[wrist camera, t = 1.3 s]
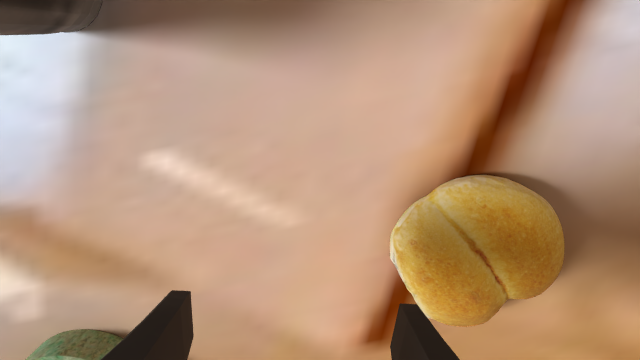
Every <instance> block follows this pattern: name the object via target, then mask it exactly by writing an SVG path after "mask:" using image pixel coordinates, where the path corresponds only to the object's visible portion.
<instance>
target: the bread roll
mask: <svg viewBox="0 0 640 360" xmlns="http://www.w3.org/2000/svg"><path fill="white" fill-rule="evenodd" d="M390 259H391V260H392V262H393V263H394V265H395V267H396V268H397V270H398V272H399V274H400V276H401V278H402V280H403V282H404V283H405V285H406V287H407V290H409V291H410V292H411V294H412V295H413V297H414V299H415V301H416V303H417V304H418V305H419V307H420V309H421V310H422V311H423V313H424V314H425V315H426V317H427V318H432V319H434V320H436V321H438V322H441V323H444V324H446V325H451V326H463V327H467V326H475V325H479V324H483V323H485V322H487V321H488V320H489V319H490V318H491V317H492V316H494V315H495V314H496V313H497V312H498V311H499V309H500V308H501V306H502V305H503V304H504V303H505V302H506V300H507V299H528V298H532V297H535V296H537V295H539V294H541V293H543V292H544V291H545V290H546V289H547V288H548V287H549V286H550V285H551V284H552V283H553V282H554V281H555V279H556V278H557V276H558V274H559V272H560V271H561V268H562V264H563V259H564V236H563V230H562V227H561V224H560V221H559V218H558V216H557V215H556V213H555V211H554V209H553V208H552V207H551V205H550V204H549V203H548V202H547V201H546V200H545V199H544V198H543V197H541V196H540V195H539V194H537V193H535V192H534V191H532V190H530V189H528V188H526V187H525V186H523V185H521V184H519V183H517V182H514V181H511V180H509V179H507V178H502V177H497V176H489V175H472V176H466V177H461V178H457V179H454V180H451V181H448V182H446V183H443V184H441V185H440V186H439V187H437V188H436V189H434V190H433V191H432V192H431V193H430V194H429V195H427V196H425V197H423V198H421V199H419V200H417V201H416V202H415V203H413V204H412V205H411V206H410V207H409V208H408V209H407V210H406V211H405V212H404V213H403V215H402V216H401V217H400V218H399V220H398V222H397V224H396V225H395V227H394V229H393V230H392V233H391V236H390Z"/></svg>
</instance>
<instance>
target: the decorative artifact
mask: <svg viewBox="0 0 640 360" xmlns="http://www.w3.org/2000/svg"><path fill="white" fill-rule="evenodd" d="M122 340H123V338H121V337H119V336H116V335H113V334H110V333H107V332H103V331H98V330H87V329H80V330H71V331H66V332H62V333H60V334H57V335H55V336H53V337H51V338H49V339H48V340H46V341H45V342H44V343H43V344H42V345H41V346H39V347H38V348H37V349H36V350H35V351H34V352H33V353H32V354H31V355H30V356H29V357H28V358H27V359H26V360H101V359H102V358H103V357H104V356H105V355H106V354H107V353H108V352H110V351H111V350H112V349H113V348H114V347H115V346H116V345H117V344H119V343H120V342H121V341H122Z"/></svg>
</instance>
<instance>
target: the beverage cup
mask: <svg viewBox="0 0 640 360" xmlns="http://www.w3.org/2000/svg"><path fill="white" fill-rule="evenodd" d="M101 4H102V0H0V35H31V34H51V33H59V32H73V31H79V30H81V29H83V28H85V27H86V26H88V25H89V24H90V23H91V22H92V21H93V20H94V19H95V18H96V16H97V15H98V12H99V9H100V7H101Z"/></svg>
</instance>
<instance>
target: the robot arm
mask: <svg viewBox="0 0 640 360" xmlns="http://www.w3.org/2000/svg"><path fill="white" fill-rule="evenodd" d="M192 340H193V322H192V307H191V292H190V291H175V290H172V291H171V292H170V293H169V294H168V295H167V296H166V297H165V298H164V299H163V300H162V301H161V302H160V303H159V304H158V305H157V306H156V307H155V308H154V309H153V310H152V311H151V312H150V313H149V315H148V316H147V317H146V318H145V319H144V320H143V321H142V322H141V323H140V324H139V325H137V326H136V327H135V328H134V329H133V330H132V331H131V332H130V333H129V334H128V335H127V336H126V337H125V338H124V339H123V340H122V341H121V342H120V343H119V344H117V345H116V346H115V347H114V348H113V349H112V350H111V351H110V352H108V353H107V354H106V355H105V356H104V357H103V358H102V359H101V360H187V358H188V355H189V351H190V347H191V344H192ZM390 348H391V356H392V360H460V359H459V358H458V357H457V356H456V354H455V353H454V352H453V351H452V349H451V348H450V347H449V346H448V345H447V343H446V342H445V341H444V339H443V338H442V337H441V336H440V334H439V333H438V332H437V330H436V329H435V328H434V326H433V325H432V324H431V322H430V321H429V320H428V318H427V317H426V315H425V314H424V313H423V311H422V310H421V309H420V307H419V306H418V305H416V304H400V305H399V310H398V314H397V319H396V323H395V328H394V332H393V337H392V341H391V346H390Z"/></svg>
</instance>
